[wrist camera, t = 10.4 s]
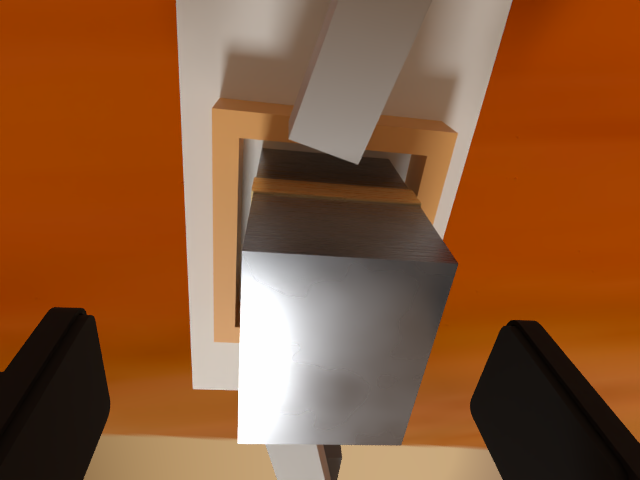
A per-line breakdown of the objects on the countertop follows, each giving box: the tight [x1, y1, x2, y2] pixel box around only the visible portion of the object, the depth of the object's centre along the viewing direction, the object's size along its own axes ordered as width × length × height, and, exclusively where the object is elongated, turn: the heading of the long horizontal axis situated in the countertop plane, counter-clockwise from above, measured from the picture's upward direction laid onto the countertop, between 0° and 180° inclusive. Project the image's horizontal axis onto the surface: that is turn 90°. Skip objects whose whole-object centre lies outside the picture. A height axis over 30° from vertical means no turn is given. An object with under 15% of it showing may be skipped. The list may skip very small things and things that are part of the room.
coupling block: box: [238, 148, 458, 445], centre depth 13 cm, size 5×6×7 cm
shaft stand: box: [176, 0, 512, 480], centre depth 14 cm, size 21×10×7 cm, turn 173°
